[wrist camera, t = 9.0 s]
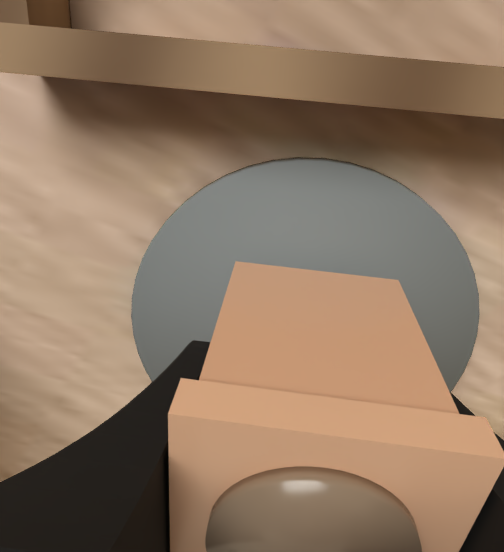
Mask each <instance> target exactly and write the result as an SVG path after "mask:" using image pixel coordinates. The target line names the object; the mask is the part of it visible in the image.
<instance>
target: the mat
mask: <svg viewBox="0 0 504 552" xmlns="http://www.w3.org/2000/svg"><path fill="white" fill-rule="evenodd" d="M235 261H238V262H247V263H255V264H264V265H273V266H281V267H290V268H299V269H307V270H316V271H325V272H333V273H342V274H351V275H359V276H368V277H377V278H385V279H394V280H399V282H400V284H401V287H402V289H403V291H404V293H405V295H406V298H407V300H408V302H409V304H410V306H411V309H412V311H413V313H414V315H415V317H416V319H417V322H418V324H419V326H420V328H421V330H422V333H423V335H424V337H425V339H426V341H427V344H428V346H429V348H430V350H431V352H432V355H433V357H434V359H435V361H436V363H437V366H438V368H439V370H440V372H441V374H442V377H443V379H444V381H445V383H446V385H447V388H448V390H449V391H450V392H451V391H452V390H453V388H454V387H455V385H456V384H457V382H458V380H459V379H460V377H461V376H462V374H463V372H464V370H465V368H466V366H467V363H468V361H469V359H470V357H471V355H472V351H473V347H474V344H475V340H476V337H477V331H478V323H479V294H478V289H477V284H476V279H475V274H474V271H473V269H472V266H471V263H470V261H469V258H468V255H467V253H466V251H465V250H464V248H463V246H462V244H461V243H460V241H459V239H458V237H457V236H456V234H455V233H454V231H453V230H452V229H451V228H450V226H449V225H448V224H447V223H446V222H445V220H444V219H443V218H442V217H441V215H439V214H438V213H437V212H436V211H435V210H434V209H433V208H432V207H431V206H430V205H428V204H427V203H426V202H425V201H424V200H423V199H422V198H421V197H419V196H418V195H417V194H416V193H414V192H413V191H411V190H410V189H408V188H407V187H405V186H404V185H402V184H401V183H399V182H398V181H396V180H394V179H392V178H390V177H388V176H385V175H383V174H381V173H379V172H377V171H375V170H372V169H369V168H366V167H363V166H359V165H356V164H353V163H350V162H344V161H338V160H332V159H326V158H301V157H298V158H288V159H278V160H271V161H267V162H263V163H259V164H255V165H250V166H247V167H245V168H242V169H239V170H237V171H234V172H232V173H229V174H227V175H225V176H223V177H221V178H219V179H217V180H216V181H214V182H212V183H210V184H208V185H207V186H205V187H203V188H202V189H201V190H199V191H198V192H197V193H195V194H194V195H193V196H191V197H190V198H189V199H188V200H186V201H185V202H184V203H183V204H182V205H181V206H180V207H179V208H178V209H177V210H176V211H175V212H174V213H173V214H172V215H171V216H170V217H169V219H168V220H167V221H166V222H165V223H164V225H163V226H162V227H161V229H160V230H159V232H158V233H157V234H156V236H155V237H154V238H153V240H152V241H151V243H150V245H149V247H148V249H147V251H146V253H145V255H144V257H143V258H142V261H141V264H140V267H139V270H138V273H137V276H136V279H135V284H134V290H133V295H132V314H131V317H132V326H133V335H134V339H135V343H136V346H137V350H138V354H139V356H140V358H141V361H142V363H143V366H144V368H145V370H146V372H147V374H148V375H149V377H150V379H151V381H152V382H153V381H154V380H155V379H156V378H157V377H158V376H159V375H160V374H161V373H162V372H163V371H164V370H165V369H166V368H167V367H168V366H169V365H170V364H171V363H172V362H173V361H174V360H175V359H176V357H177V356H178V355H179V354H180V353H181V352H182V351H183V350H184V348H185V347H186V346H187V345H188V344H189V343H190V342H191V341H193V340H196V341H205V342H211V339H212V336H213V333H214V330H215V326H216V323H217V320H218V317H219V313H220V310H221V307H222V304H223V300H224V297H225V294H226V291H227V287H228V284H229V281H230V278H231V274H232V271H233V268H234V265H235Z"/></svg>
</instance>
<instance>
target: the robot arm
mask: <svg viewBox="0 0 504 552" xmlns="http://www.w3.org/2000/svg"><path fill="white" fill-rule="evenodd" d="M209 346H210V342H205V341H196V340H193V341H191V342H190V343H189V344H188V345H187V346H186V347H185V348H184V350H183V351H182V352H181V353H180V354H179V355H178V356H177V357H176V359H175V360H174V361H173V362H172V363H171V364H170V365H169V366H168V367H167V368H166V369H165V370H164V371H163V372H162V373H161V374H160V375H159V376H158V377H157V378H156V379H155V380H154V381H153V382H152V383H151V384H150V385H149V386H148V387H147V388H145V389H144V390H143V391H142V392H141V393H140V394H139V395H137V396H136V397H135V398H134V399H133V400H132V401H130V402H129V403H128V404H127V405H126V406H125V407H123V408H122V409H121V410H120V411H118V412H117V413H116V414H114V415H113V416H112V417H111V418H109V419H108V420H106V421H105V422H104V423H102V424H101V425H100V426H98V427H97V428H95V429H94V430H93V431H91V432H89V433H88V434H86V435H85V436H83V437H82V438H80V439H79V440H77V441H75V442H74V443H72V444H71V445H69V446H67V447H66V448H64V449H63V450H61V451H59V452H58V453H56V454H54V455H52V456H51V457H49V458H47V459H45V460H43V461H41V462H40V463H38V464H36V465H34V466H32V467H30V468H28V469H26V470H24V471H22V472H20V473H18V474H16V475H14V476H12V477H10V478H8V479H6V480H4V481H2V482H0V552H170V512H169V448H168V412H169V409H170V407H171V404H172V401H173V399H174V396H175V393H176V390H177V388H178V385H179V382H180V379H181V378H184V379H192V380H199V378H200V375H201V372H202V368H203V365H204V362H205V359H206V355H207V352H208V349H209ZM449 392H450V391H449ZM450 394H451V396H452V398H453V401H454V403H455V405H456V407H457V409H458V412H459V414H463V415H470V416H475V415H474V414H473V413H472V412H471V411H470V410H469V409H468V408H467V407H465V406H464V405H463V404H462V403H461V402H460V401H459V400H458V399H457V398H456V397H455V396H454V395H453V394H452V393H451V392H450ZM494 434H495V433H494ZM495 436H496V438H497V440H498V441H499V443H500V445H501V447H502V449H503V451H504V440H503V439H501V438H500V437H499V436H498V435H497V434H495ZM459 552H504V467H503V469H502V471H501V473H500V475H499V477H498V479H497V480H496V482H495V484H494V486H493V488H492V490H491V492H490V494H489V496H488V497H487V499H486V501H485V503H484V505H483V507H482V509H481V511H480V513H479V514H478V516H477V518H476V520H475V522H474V524H473V526H472V528H471V530H470V531H469V533H468V535H467V537H466V539H465V541H464V543H463V545H462V547H461V548H460V550H459Z"/></svg>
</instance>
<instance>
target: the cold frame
mask: <svg viewBox="0 0 504 552" xmlns="http://www.w3.org/2000/svg"><path fill="white" fill-rule="evenodd" d="M0 72H5V73H15V74H26V75H37V76H48V77H58V78H69V79H80V80H91V81H101V82H112V83H123V84H134V85H144V86H155V87H166V88H177V89H187V90H198V91H209V92H220V93H230V94H241V95H252V96H263V97H273V98H284V99H295V100H306V101H316V102H327V103H338V104H349V105H359V106H370V107H381V108H392V109H402V110H413V111H424V112H435V113H445V114H456V115H467V116H478V117H488V118H499V119H504V67H496V66H485V65H474V64H463V63H451V62H440V61H429V60H418V59H407V58H395V57H384V56H373V55H362V54H351V53H339V52H328V51H317V50H306V49H294V48H283V47H272V46H261V45H250V44H238V43H227V42H216V41H205V40H193V39H182V38H171V37H160V36H149V35H137V34H126V33H115V32H104V31H93V30H81V29H71V23H70V11H69V0H0Z"/></svg>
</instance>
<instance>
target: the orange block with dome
mask: <svg viewBox="0 0 504 552" xmlns="http://www.w3.org/2000/svg"><path fill="white" fill-rule="evenodd" d="M168 448H169V512H170V552H459V550H460V548H461V547H462V545H463V543H464V541H465V539H466V537H467V535H468V533H469V531H470V530H471V528H472V526H473V524H474V522H475V520H476V518H477V516H478V514H479V513H480V511H481V509H482V507H483V505H484V503H485V501H486V499H487V497H488V496H489V494H490V492H491V490H492V488H493V486H494V484H495V482H496V480H497V479H498V477H499V475H500V473H501V471H502V469H503V467H504V451H503V449H502V447H501V445H500V443H499V441H498V440H497V438H496V436H495V434H494V432H493V430H492V428H491V426H490V424H489V422H488V421H487V419H486V417H478V416H470V415H463V414H459V412H458V409H457V407H456V405H455V403H454V401H453V398H452V396H451V394H450V392H449V390H448V388H447V385H446V383H445V381H444V379H443V377H442V374H441V372H440V370H439V368H438V366H437V363H436V361H435V359H434V357H433V355H432V352H431V350H430V348H429V346H428V344H427V341H426V339H425V337H424V335H423V333H422V330H421V328H420V326H419V324H418V322H417V319H416V317H415V315H414V313H413V311H412V309H411V306H410V304H409V302H408V300H407V298H406V295H405V293H404V291H403V289H402V287H401V284H400V282H399V280H394V279H385V278H377V277H368V276H359V275H351V274H342V273H333V272H325V271H316V270H307V269H299V268H290V267H281V266H273V265H264V264H255V263H247V262H238V261H235V265H234V268H233V271H232V274H231V278H230V281H229V284H228V287H227V291H226V294H225V297H224V300H223V304H222V307H221V310H220V313H219V317H218V320H217V323H216V326H215V330H214V333H213V336H212V339H211V342H210V346H209V349H208V352H207V355H206V359H205V362H204V365H203V368H202V372H201V375H200V378H199V380H192V379H184V378H181V379H180V382H179V385H178V388H177V390H176V393H175V396H174V399H173V401H172V404H171V407H170V409H169V412H168Z"/></svg>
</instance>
